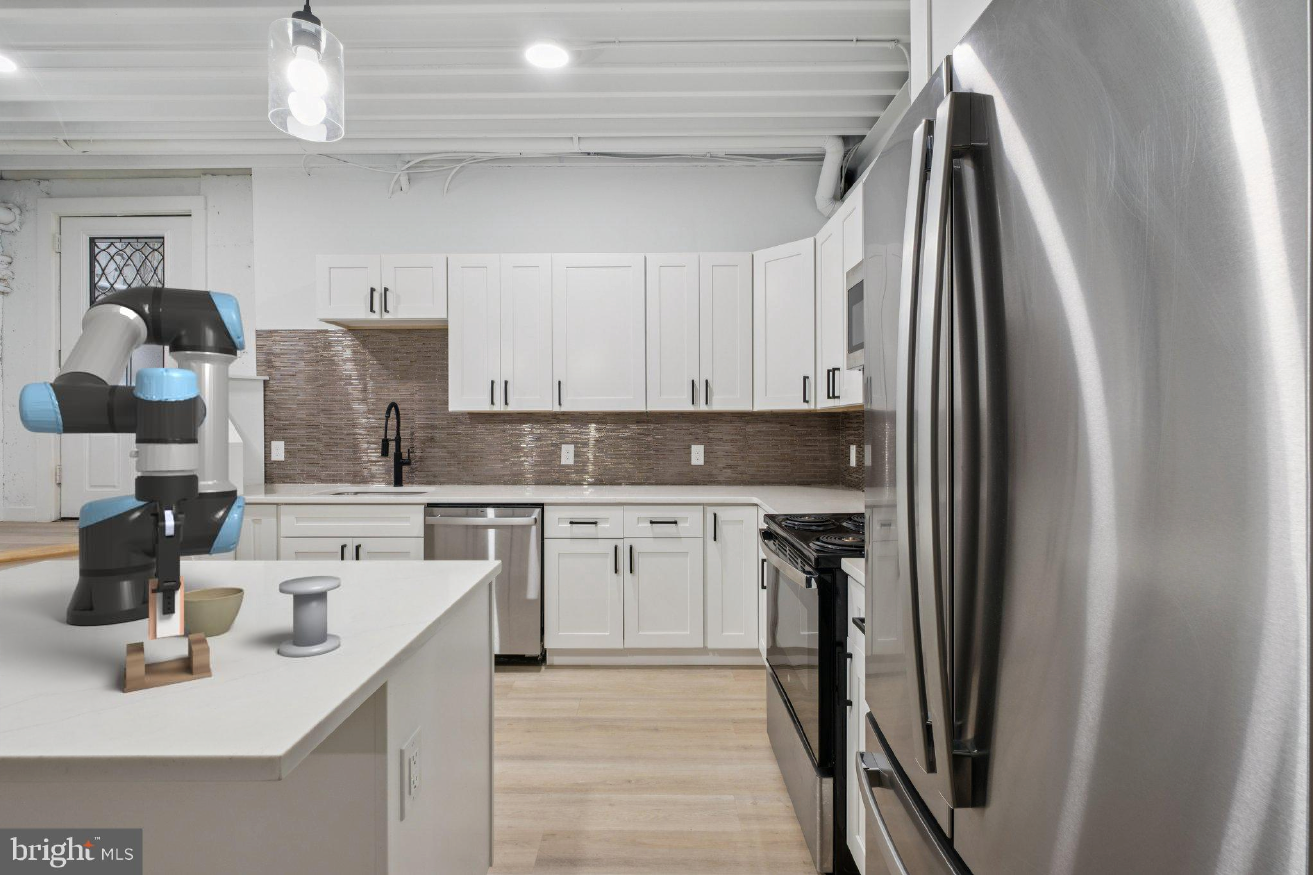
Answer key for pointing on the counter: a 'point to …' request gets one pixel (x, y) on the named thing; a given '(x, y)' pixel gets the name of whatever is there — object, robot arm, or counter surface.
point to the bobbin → (309, 616)
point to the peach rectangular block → (152, 608)
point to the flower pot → (212, 609)
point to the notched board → (166, 666)
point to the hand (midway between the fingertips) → (167, 631)
